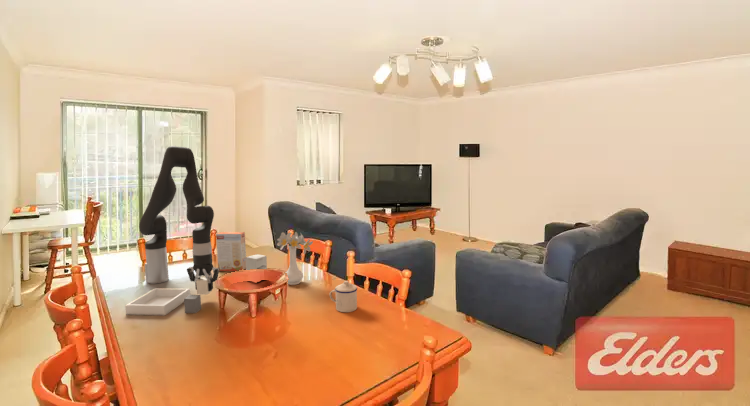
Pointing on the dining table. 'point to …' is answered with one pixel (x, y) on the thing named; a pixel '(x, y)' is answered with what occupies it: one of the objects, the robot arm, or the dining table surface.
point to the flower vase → (293, 254)
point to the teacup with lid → (345, 297)
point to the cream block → (202, 286)
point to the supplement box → (256, 262)
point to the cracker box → (231, 251)
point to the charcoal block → (192, 303)
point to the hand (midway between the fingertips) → (204, 290)
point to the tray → (157, 301)
